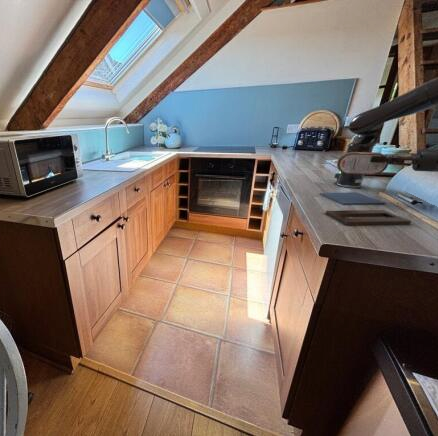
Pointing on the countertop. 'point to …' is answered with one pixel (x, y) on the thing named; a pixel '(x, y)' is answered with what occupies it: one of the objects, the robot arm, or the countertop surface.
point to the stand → (390, 219)
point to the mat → (351, 198)
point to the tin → (360, 163)
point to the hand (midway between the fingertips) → (370, 158)
